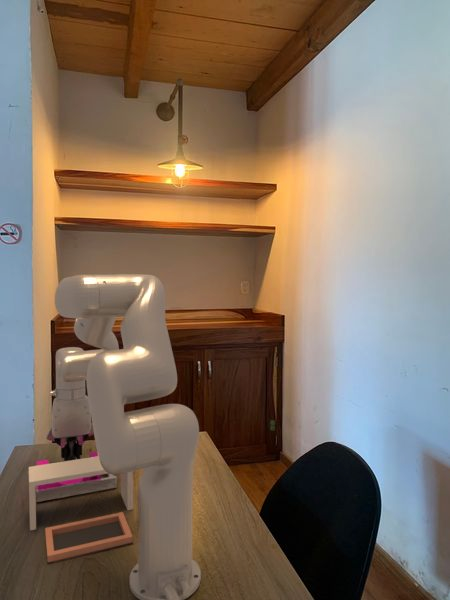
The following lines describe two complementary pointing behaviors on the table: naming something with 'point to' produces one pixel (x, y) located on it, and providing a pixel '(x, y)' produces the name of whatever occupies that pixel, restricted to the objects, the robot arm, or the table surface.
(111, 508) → the table surface
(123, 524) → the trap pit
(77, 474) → the tunnel
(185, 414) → the robot arm
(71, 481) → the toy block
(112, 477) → the slider
